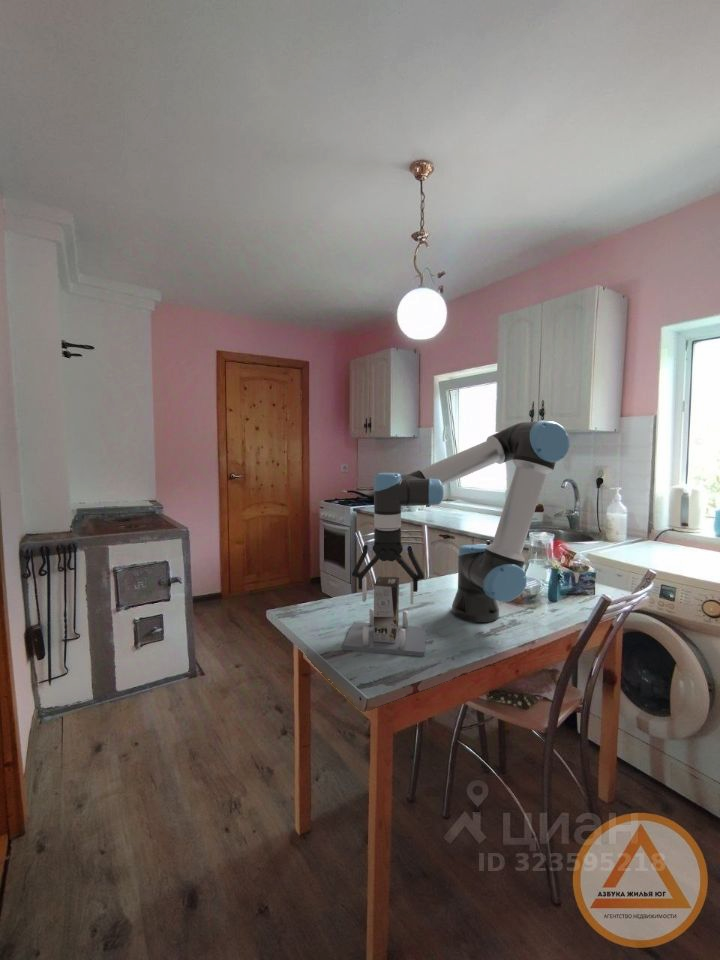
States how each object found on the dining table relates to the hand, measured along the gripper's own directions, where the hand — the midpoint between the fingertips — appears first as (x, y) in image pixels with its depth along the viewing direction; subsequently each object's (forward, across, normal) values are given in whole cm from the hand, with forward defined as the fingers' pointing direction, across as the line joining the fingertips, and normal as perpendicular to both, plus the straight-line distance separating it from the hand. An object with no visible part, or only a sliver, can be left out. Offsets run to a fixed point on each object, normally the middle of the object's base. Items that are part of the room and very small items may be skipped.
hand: (388, 601), depth 126 cm
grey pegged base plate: (+11, +1, 0) cm, 11 cm away
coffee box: (+10, 0, 0) cm, 10 cm away
